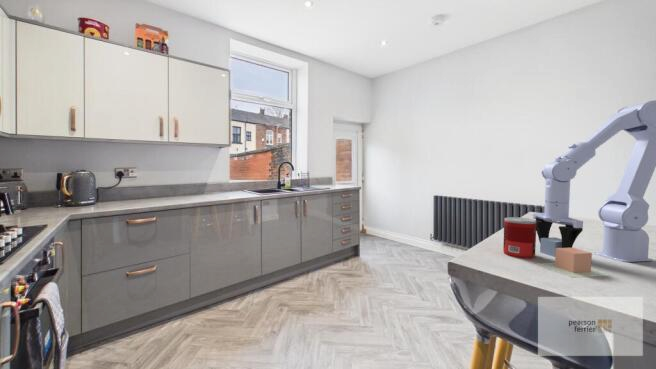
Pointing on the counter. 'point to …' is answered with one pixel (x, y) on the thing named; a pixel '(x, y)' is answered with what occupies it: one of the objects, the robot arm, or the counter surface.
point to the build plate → (570, 274)
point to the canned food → (519, 237)
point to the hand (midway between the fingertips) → (554, 247)
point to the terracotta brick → (573, 260)
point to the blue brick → (550, 245)
